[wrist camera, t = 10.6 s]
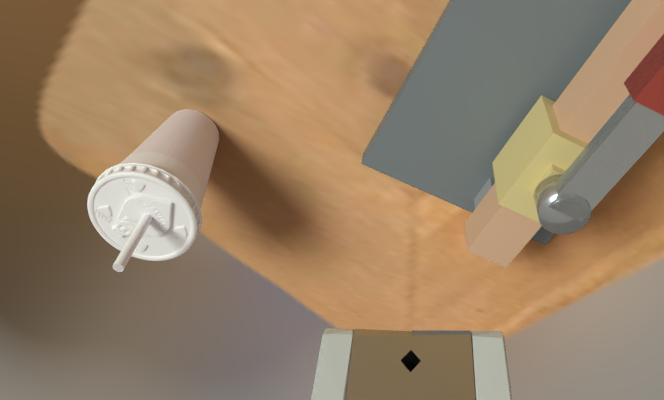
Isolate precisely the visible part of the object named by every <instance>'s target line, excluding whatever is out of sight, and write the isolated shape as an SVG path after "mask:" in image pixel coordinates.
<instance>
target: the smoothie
mask: <svg viewBox="0 0 664 400" xmlns="http://www.w3.org/2000/svg"><path fill="white" fill-rule="evenodd" d="M218 143H219V132H218V129H217V127H216V125H215V123H214V122H213V121H212V120H211V119H210V118H209V117H208V116H206V115H205V114H203V113H201V112H199V111H196V110H191V109H184V110H180V111H177V112H175V113H174V114H172V115H171V116H170V117H169V118H168V119H167V120H166V121H165V122H164V123H163V124H162V125H161V126H160V127H159V128H158V129H157V130H155V131H154V132H153V133H152V134H151V135H150V136H149V137H148V138H147V139H146V140H145V141H144V142H143V143H142V144H141V145H140V146H139V147H137V148H136V149H135V150H134V151H133V152H132V153H131V154H130V155H129V156H128V157H127V158H126V159H125V160H123V161H122V162H121V163H120V164H118V165H116V166H113V167H111V168H108V169H107V170H106V171H104V172H103V173H102V174H101V175H100V176H99V177H98V179H97V181H96V183H95V185H94V186H93V187H92V189H91V191H90V193H89V196H88V201H87V202H88V203H87V207H88V213H89V216H90V219H91V221H92V223H93V225H94V227H95V228H96V230H97V231H98V233H99V234H100V235H101V236H102V237H103V238H104V239H105V240H106V241H107V242H108V243H109V244H111V245H112V246H113V247H115V248H116V249H118V250H120V251H121V252H120V254H119V256H118V258H117V259H116V261H115V263H114V264H113V269H114V270H116V271H118V272H121V271H123V269H124V268H125V266H126V264H127V262H128V261H129V259H130V257H131V256H133V257H136V258H139V259H144V260H151V261H162V260H169V259H172V258H175V257H178V256H180V255H182V254H183V253H185V251H187V250H188V249H189V248H190V247H191V245H192V244H193V242H194V240H195V238H196V237H197V235H198V234H199V231H200V228H201V224H202V216H201V206H202V202H203V198H204V194H205V191H206V187H207V183H208V180H209V176H210V172H211V169H212V165H213V161H214V158H215V154H216V150H217V147H218Z"/></svg>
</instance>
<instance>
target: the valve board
mask: <svg viewBox="0 0 664 400" xmlns="http://www.w3.org/2000/svg"><path fill="white" fill-rule="evenodd" d="M663 34H664V0H450V1H449V3H448V5H447V7H446V9H445V10H444V12H443V14H442V16H441V17H440V19H439V21H438V23H437V24H436V26H435V28H434V30H433V32H432V33H431V35H430V37H429V39H428V40H427V42H426V44H425V46H424V47H423V49H422V51H421V53H420V54H419V56H418V58H417V60H416V62H415V63H414V65H413V67H412V69H411V70H410V72H409V74H408V76H407V77H406V79H405V81H404V83H403V85H402V86H401V88H400V90H399V92H398V93H397V95H396V97H395V99H394V100H393V102H392V104H391V106H390V107H389V109H388V111H387V113H386V115H385V116H384V118H383V120H382V122H381V123H380V125H379V127H378V129H377V130H376V132H375V134H374V136H373V138H372V139H371V141H370V143H369V145H368V146H367V148H366V150H365V152H364V153H363V158H362V164H364V165H366V166H368V167H370V168H373V169H375V170H377V171H379V172H382V173H384V174H386V175H388V176H391V177H393V178H395V179H397V180H400V181H402V182H404V183H406V184H409V185H411V186H413V187H416V188H418V189H420V190H422V191H425V192H427V193H429V194H431V195H434V196H436V197H438V198H440V199H443V200H445V201H447V202H449V203H452V204H454V205H456V206H458V207H461V208H463V209H465V210H468V211H470V212H472V214H471V215H470V217H469V218H468V219H467V221H466V222H465V236H466V249H467V251H468V252H470V253H472V254H475V255H477V256H479V257H482V258H484V259H486V260H489V261H491V262H493V263H496V264H498V265H500V266H503V267H505V268H506V267H507V266H508V265H509V264H510V263H511V262H512V260H513V259H514V258H515V257H516V256H517V255H518V253H519V252H520V251H521V250H522V249H523V248H524V246H525V245H526V244H527V243H528V242H529V240H530V239H533V240H535V241H538V242H540V243H542V244H544V245H546V243H547V242H548V241H549V240H550V239H551V238H552V237H553V235H554V234H555V233H552V232H549V231H547V230H546V229H544V228H543V227H542V225H541V224H540V222H539V218H538V214H537V209H536V205H535V201H534V192H535V189H536V187H537V186H538V184H539V183H540V182H541V181H543V180H544V179H546V178H548V177H550V176H553V175H557V174H564V172H565V171H566V170H567V169H568V168H569V166H570V165H571V164H572V163H573V162H574V160H575V159H576V158H577V157H578V156H579V154H580V153H581V152H582V151H583V150H584V148H585V147H586V146H587V145H588V144H589V142H590V141H591V140H592V139H593V138H594V136H595V135H596V134H597V133H598V132H599V130H600V129H601V128H602V127H603V126H604V124H605V123H606V122H607V121H608V120H609V118H610V117H611V116H612V115H613V114H614V112H615V111H616V110H617V109H618V108H619V106H620V105H621V104H622V103H623V102H624V100H625V99H626V98H627V97H628V96H629V92H628V90H627V88H626V86H625V85H624V82H625V81H626V79H627V78H628V77H629V76H630V74H631V73H632V72H633V71H634V70H635V68H636V67H637V66H638V65H639V63H640V62H641V61H642V60H643V58H644V57H645V56H646V55H647V54H648V52H649V51H650V50H651V49H652V47H653V46H654V45H655V44H656V43H657V41H658V40H659V39H660V38H661V36H662V35H663Z"/></svg>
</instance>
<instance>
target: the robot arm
mask: <svg viewBox="0 0 664 400" xmlns="http://www.w3.org/2000/svg"><path fill="white" fill-rule="evenodd" d="M311 400H512V394H511V386H510V379H509V372H508V364H507V356H506V348H505V340H504V335H503V334H502V332H501V331H471V333H470V331H392V330H366V329H327V328H326V330H325V332H324V334H323V336H322V342H321V348H320V354H319V359H318V364H317V371H316V376H315V381H314V387H313V393H312V398H311Z"/></svg>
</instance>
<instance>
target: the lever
mask: <svg viewBox="0 0 664 400" xmlns="http://www.w3.org/2000/svg"><path fill="white" fill-rule="evenodd" d="M624 85H625V86H626V88H627V90H628V92H629V96H628V97H627V98H626V99H625V100H624V102H623V103H622V104H621V105H620V106H619V108H618V109H617V110H616V111H615V112H614V114H613V115H612V116H611V117H610V118H609V120H608V121H607V122H606V123H605V124H604V126H603V127H602V128H601V129H600V130H599V132H598V133H597V134H596V135H595V136H594V138H593V139H592V140H591V141H590V142H589V144H588V145H587V146H586V147H585V148H584V150H583V151H582V152H581V153H580V154H579V156H578V157H577V158H576V159H575V160H574V162H573V163H572V164H571V165H570V166H569V168H568V169H567V170H566V171H565V172H564V174H557V175H553V176H550V177H548V178H546V179H544V180H543V181H541V182H540V183H539V184H538V186H537V187H536V189H535V192H534V201H535V205H536V209H537V214H538V218H539V222H540V224H541V225H542V227H543V228H544V229H546V230H547V231H549V232H552V233H555V234H569V233H573V232H576V231H578V230H580V229H581V228H583V227H584V226H585V225H586V224H587V223H588V222H589V220H590V218H591V214H592V210H593V209H594V208H595V207H596V205H597V204H598V203H599V202H600V201H601V200H602V199H603V198H604V197H605V196H606V194H607V193H608V192H609V191H610V190H611V189H612V188H613V187H614V186H615V185H616V183H617V182H618V181H619V180H620V179H621V178H622V177H623V176H624V175H625V174H626V172H627V171H628V170H629V169H630V168H631V167H632V166H633V165H634V164H635V163H636V161H637V160H638V159H639V158H640V157H641V156H642V155H643V154H644V153H645V152H646V150H647V149H648V148H649V147H650V146H651V145H652V144H653V143H654V142H655V141H656V139H657V138H658V137H659V136H660V135H661V134H662V133H663V132H664V34H663V35H662V36H661V38H660V39H659V40H658V41H657V43H656V44H655V45H654V46H653V47H652V49H651V50H650V51H649V52H648V54H647V55H646V56H645V57H644V58H643V60H642V61H641V62H640V63H639V65H638V66H637V67H636V68H635V70H634V71H633V72H632V73H631V74H630V76H629V77H628V78H627V79H626V81H625V82H624Z"/></svg>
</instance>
